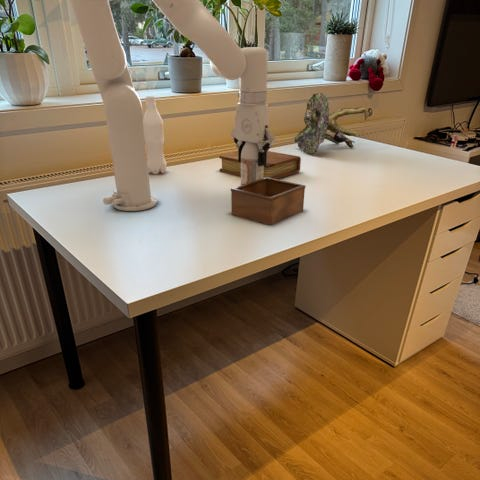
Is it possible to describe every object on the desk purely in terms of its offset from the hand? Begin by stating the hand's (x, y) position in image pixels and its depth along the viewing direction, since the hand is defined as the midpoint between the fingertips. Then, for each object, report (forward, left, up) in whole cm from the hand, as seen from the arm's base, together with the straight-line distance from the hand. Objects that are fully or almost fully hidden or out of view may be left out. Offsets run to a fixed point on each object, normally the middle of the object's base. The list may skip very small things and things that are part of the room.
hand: (252, 162), depth 136 cm
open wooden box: (-10, -14, -10) cm, 20 cm away
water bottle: (-1, +44, -10) cm, 45 cm away
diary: (+24, +16, -10) cm, 31 cm away
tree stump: (+75, +20, -10) cm, 78 cm away
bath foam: (0, 0, -10) cm, 10 cm away
